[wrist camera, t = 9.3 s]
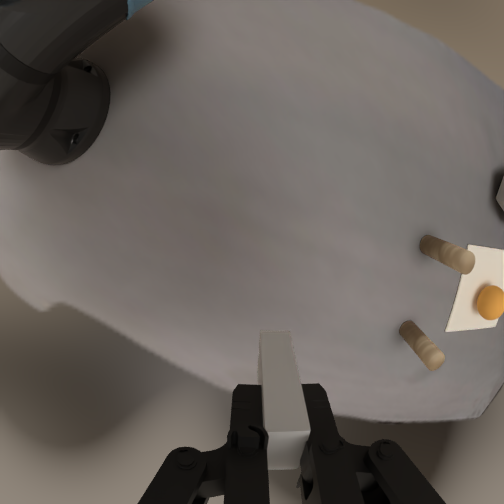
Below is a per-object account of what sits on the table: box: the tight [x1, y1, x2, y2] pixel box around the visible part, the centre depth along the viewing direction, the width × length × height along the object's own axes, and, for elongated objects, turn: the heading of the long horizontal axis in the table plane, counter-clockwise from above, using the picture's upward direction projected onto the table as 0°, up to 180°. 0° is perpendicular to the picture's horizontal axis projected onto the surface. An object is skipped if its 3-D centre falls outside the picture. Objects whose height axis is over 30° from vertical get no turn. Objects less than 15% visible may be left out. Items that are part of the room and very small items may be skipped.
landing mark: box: [445, 244, 504, 332], centre depth 34 cm, size 14×14×1 cm
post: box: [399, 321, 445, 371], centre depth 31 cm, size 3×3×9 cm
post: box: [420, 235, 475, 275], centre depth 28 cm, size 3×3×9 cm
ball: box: [477, 285, 504, 320], centre depth 32 cm, size 6×6×6 cm
